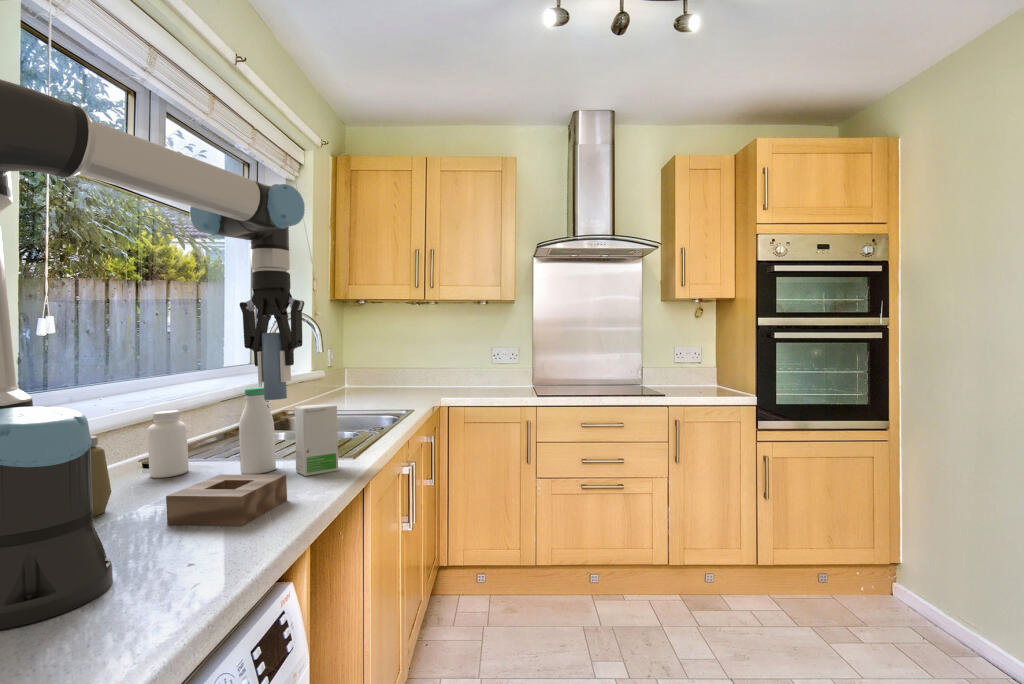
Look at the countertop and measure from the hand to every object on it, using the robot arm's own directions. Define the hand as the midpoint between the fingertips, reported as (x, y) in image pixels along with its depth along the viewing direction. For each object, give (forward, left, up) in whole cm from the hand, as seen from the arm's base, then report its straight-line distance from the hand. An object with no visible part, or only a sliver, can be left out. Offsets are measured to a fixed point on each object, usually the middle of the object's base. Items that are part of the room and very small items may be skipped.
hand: (274, 381), depth 115 cm
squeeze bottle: (-19, +27, -23) cm, 40 cm away
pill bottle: (+10, +34, -23) cm, 42 cm away
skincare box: (+13, -2, -23) cm, 26 cm away
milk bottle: (+13, +13, -23) cm, 29 cm away
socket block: (-16, 0, -22) cm, 28 cm away
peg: (0, 0, -4) cm, 4 cm away
